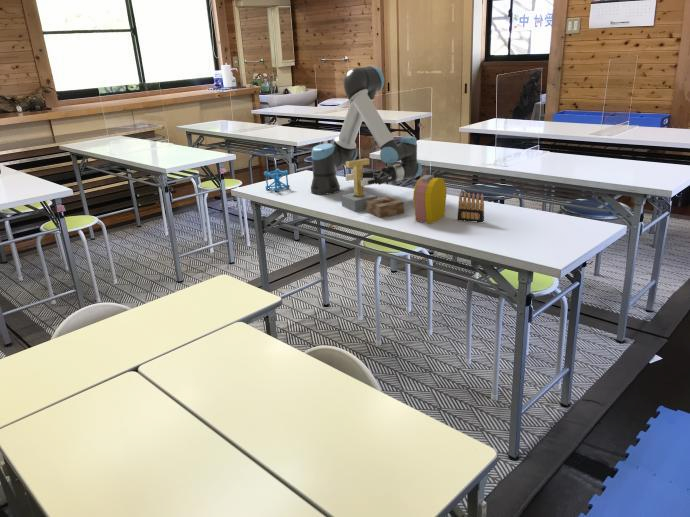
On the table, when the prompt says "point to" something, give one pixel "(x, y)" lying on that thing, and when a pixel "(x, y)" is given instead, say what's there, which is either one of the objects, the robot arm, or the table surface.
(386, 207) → the block
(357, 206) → the block
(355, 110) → the robot arm
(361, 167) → the t key
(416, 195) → the alarm clock
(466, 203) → the ammunition clip
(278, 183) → the molecular structure
